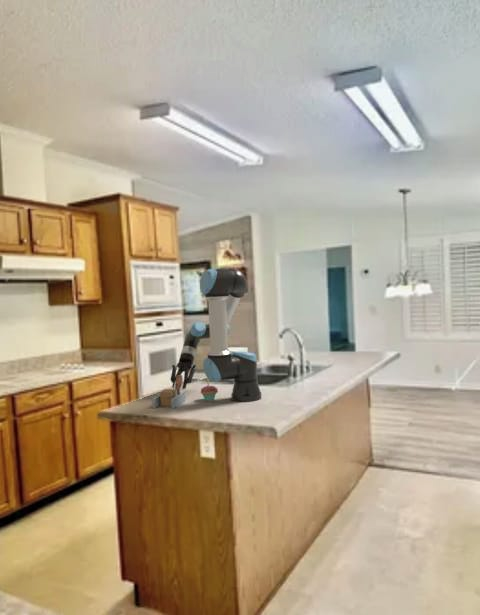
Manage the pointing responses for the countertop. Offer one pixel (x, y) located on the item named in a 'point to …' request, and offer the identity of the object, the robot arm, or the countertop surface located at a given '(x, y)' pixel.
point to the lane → (174, 401)
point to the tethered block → (170, 392)
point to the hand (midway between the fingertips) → (177, 393)
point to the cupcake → (209, 392)
